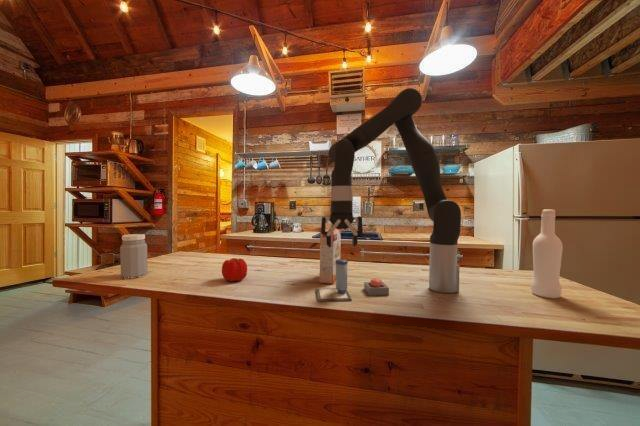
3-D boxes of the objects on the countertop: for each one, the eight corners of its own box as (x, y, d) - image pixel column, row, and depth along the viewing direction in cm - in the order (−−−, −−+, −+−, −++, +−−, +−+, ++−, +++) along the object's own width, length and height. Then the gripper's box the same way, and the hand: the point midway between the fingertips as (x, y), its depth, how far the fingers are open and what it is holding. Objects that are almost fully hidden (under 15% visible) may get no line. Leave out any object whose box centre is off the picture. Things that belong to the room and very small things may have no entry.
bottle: (532, 289, 97) (534, 209, 95) (561, 295, 91) (565, 209, 90) (529, 294, 91) (531, 209, 90) (560, 301, 85) (563, 209, 84)
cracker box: (333, 284, 102) (333, 231, 101) (319, 283, 104) (319, 231, 103) (341, 275, 115) (341, 228, 114) (328, 274, 117) (328, 227, 116)
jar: (114, 278, 109) (113, 236, 109) (134, 272, 119) (133, 233, 118) (134, 279, 108) (133, 236, 107) (153, 273, 117) (152, 234, 117)
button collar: (382, 288, 97) (382, 281, 97) (388, 295, 90) (388, 288, 90) (364, 288, 97) (364, 282, 97) (369, 295, 90) (369, 288, 90)
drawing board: (345, 289, 96) (345, 287, 96) (351, 300, 85) (351, 298, 85) (316, 290, 95) (316, 288, 95) (318, 301, 84) (318, 299, 84)
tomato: (228, 276, 113) (228, 256, 113) (252, 277, 112) (252, 257, 112) (215, 283, 103) (215, 261, 103) (241, 284, 102) (241, 262, 101)
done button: (379, 285, 96) (379, 278, 96) (383, 288, 92) (383, 281, 92) (369, 285, 95) (369, 278, 95) (372, 289, 91) (372, 282, 91)
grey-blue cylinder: (346, 290, 93) (346, 259, 92) (348, 294, 89) (348, 261, 88) (334, 290, 93) (334, 259, 92) (336, 295, 88) (336, 262, 88)
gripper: (359, 199, 94) (359, 244, 94) (320, 200, 92) (320, 245, 93) (364, 199, 86) (364, 247, 87) (321, 199, 85) (322, 248, 86)
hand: (341, 246), depth 90 cm, fingers open, 8 cm apart
